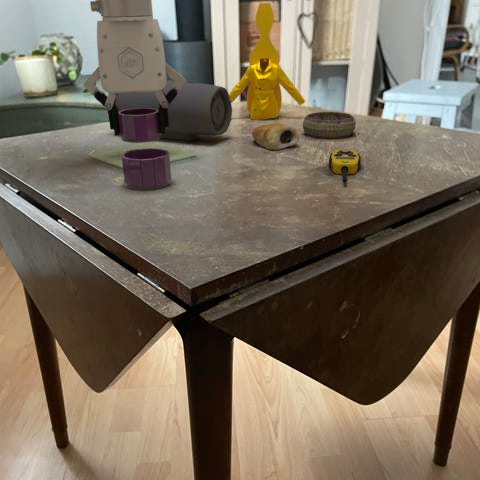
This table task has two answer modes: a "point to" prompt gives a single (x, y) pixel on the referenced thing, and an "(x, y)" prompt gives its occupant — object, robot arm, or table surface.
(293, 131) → the pastry
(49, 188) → the table surface
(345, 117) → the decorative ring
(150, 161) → the ribbed purple cap
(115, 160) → the placemat
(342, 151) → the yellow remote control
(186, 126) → the bluetooth speaker
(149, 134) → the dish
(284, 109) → the table surface
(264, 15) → the yellow coat
